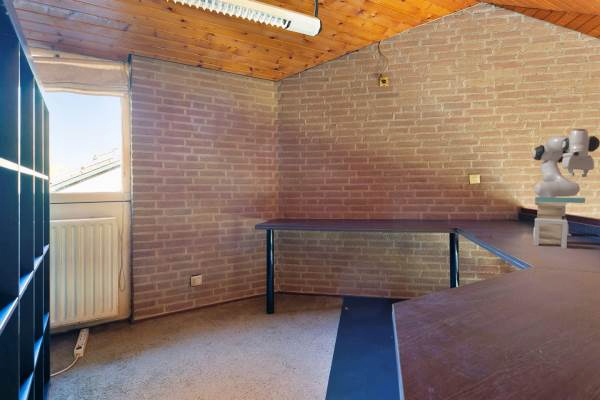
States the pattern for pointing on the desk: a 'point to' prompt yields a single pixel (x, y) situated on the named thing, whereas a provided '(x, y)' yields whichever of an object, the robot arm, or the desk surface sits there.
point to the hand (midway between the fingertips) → (578, 176)
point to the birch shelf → (550, 231)
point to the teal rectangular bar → (559, 199)
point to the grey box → (551, 221)
